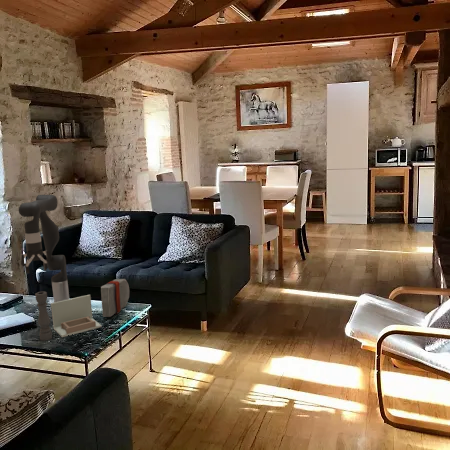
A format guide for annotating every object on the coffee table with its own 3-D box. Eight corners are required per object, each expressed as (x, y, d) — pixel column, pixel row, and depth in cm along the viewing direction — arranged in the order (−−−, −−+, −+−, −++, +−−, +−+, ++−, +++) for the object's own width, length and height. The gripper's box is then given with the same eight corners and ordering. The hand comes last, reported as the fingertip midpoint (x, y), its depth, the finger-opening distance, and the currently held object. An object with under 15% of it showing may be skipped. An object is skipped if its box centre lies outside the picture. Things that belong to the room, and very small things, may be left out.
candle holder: (52, 339, 270) (46, 294, 265) (39, 341, 268) (34, 295, 263) (52, 335, 275) (47, 290, 271) (40, 336, 274) (35, 292, 269)
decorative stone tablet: (109, 286, 290) (130, 275, 319) (99, 285, 292) (120, 275, 321) (111, 319, 292) (131, 305, 321) (100, 319, 293) (121, 305, 323)
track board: (53, 328, 284) (50, 303, 281) (92, 319, 296) (89, 294, 293) (61, 337, 272) (58, 310, 269) (101, 326, 284) (99, 301, 281)
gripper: (45, 238, 271) (48, 268, 273) (17, 242, 263) (20, 273, 266) (49, 240, 265) (52, 270, 267) (20, 244, 257) (24, 275, 259)
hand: (36, 271), depth 266 cm, fingers open, 8 cm apart
